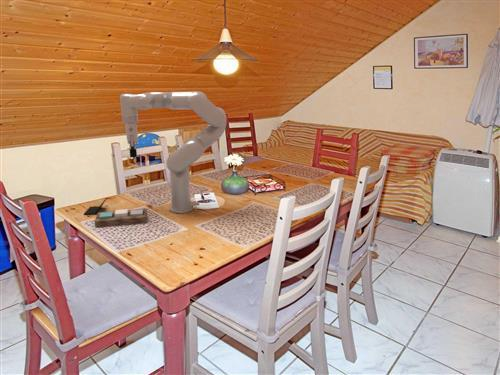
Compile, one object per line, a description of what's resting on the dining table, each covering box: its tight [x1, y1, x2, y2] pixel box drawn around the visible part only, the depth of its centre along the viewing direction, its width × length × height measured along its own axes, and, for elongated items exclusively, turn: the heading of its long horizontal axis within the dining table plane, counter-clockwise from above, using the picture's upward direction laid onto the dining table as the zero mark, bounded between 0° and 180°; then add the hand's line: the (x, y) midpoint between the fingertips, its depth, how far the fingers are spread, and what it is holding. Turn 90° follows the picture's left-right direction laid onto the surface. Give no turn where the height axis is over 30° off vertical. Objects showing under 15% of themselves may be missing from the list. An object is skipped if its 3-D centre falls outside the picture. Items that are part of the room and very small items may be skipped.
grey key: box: [130, 208, 144, 216], centre depth 184 cm, size 6×6×2 cm
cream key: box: [114, 208, 129, 218], centre depth 182 cm, size 6×6×2 cm
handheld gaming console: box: [83, 198, 107, 216], centre depth 195 cm, size 12×7×10 cm
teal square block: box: [99, 211, 113, 219], centre depth 181 cm, size 6×6×2 cm
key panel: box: [94, 208, 148, 228], centre depth 183 cm, size 23×12×3 cm, turn 104°
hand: (133, 156), depth 189 cm, fingers closed
